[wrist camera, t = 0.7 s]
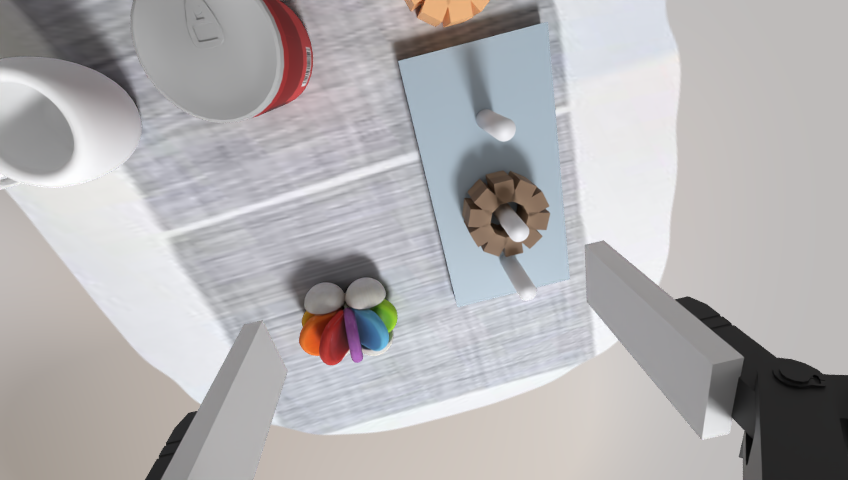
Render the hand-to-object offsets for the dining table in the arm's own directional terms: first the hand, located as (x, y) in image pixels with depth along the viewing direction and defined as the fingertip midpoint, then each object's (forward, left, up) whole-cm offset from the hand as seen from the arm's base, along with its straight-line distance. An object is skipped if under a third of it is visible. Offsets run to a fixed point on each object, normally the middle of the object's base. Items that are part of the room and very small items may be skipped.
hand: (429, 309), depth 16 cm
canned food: (-12, -8, -22) cm, 27 cm away
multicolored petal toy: (+13, -9, -22) cm, 27 cm away
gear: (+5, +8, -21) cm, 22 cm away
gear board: (+3, +8, -22) cm, 23 cm away
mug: (-10, -24, -22) cm, 34 cm away
